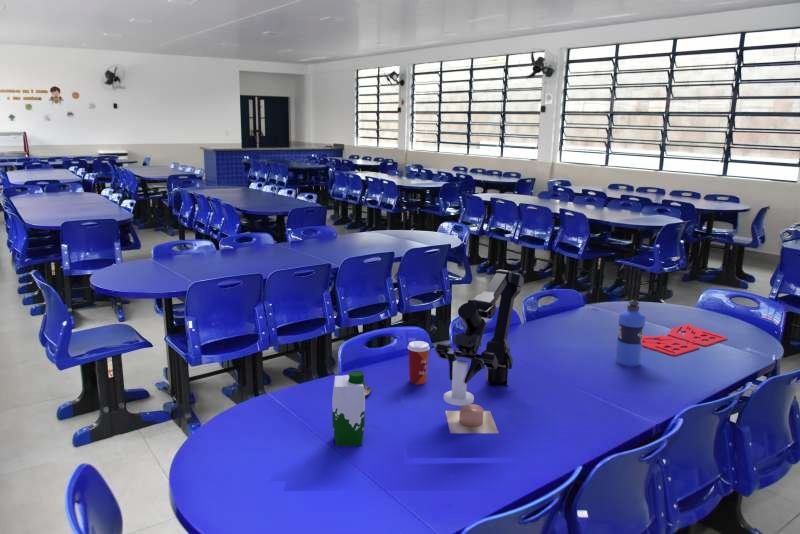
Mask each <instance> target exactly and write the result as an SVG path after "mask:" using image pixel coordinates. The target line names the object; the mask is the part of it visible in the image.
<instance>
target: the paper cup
mask: <svg viewBox="0 0 800 534" xmlns="http://www.w3.org/2000/svg"><path fill="white" fill-rule="evenodd" d="M407 349H408V371H409V372H408V373H409V375H408V376H409V382H410V383H411V384H413V385H425V384H426V382H427V375H428V374H427V373H428V361H429V352H430V349H431V348H430V345H429V343H428V342H426V341H422V340H414V341H411V342H409V343H408V345H407Z"/></svg>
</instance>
